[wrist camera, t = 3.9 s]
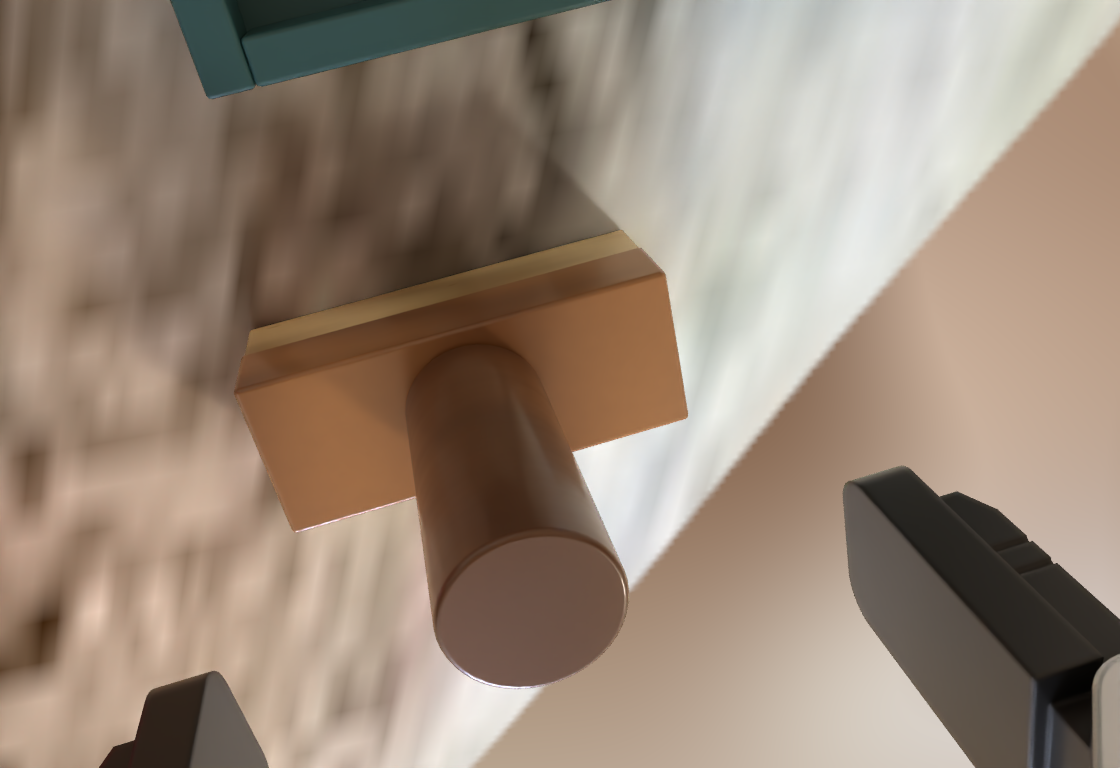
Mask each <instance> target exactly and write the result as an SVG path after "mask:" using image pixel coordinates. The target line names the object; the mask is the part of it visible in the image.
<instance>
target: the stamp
mask: <svg viewBox="0 0 1120 768" xmlns="http://www.w3.org/2000/svg"><path fill="white" fill-rule="evenodd" d="M234 395H235V397H236V400H237V402H238V404H239V407H240V409H241V411H242V414H243V416H244V418H245V421H246V423H247V425H248V428H249V430H250V432H251V435H252V437H253V440H254V442H255V444H256V447H257V449H258V451H259V454H260V456H261V458H262V461H263V463H264V465H265V468H266V470H267V472H268V475H269V477H270V479H271V482H272V484H273V486H274V489H275V491H276V494H277V496H278V498H279V501H280V503H281V505H282V508H283V510H284V512H285V515H286V517H287V519H288V522H289V524H290V526H291V529H292V530H293V531H294V532H301V531H304V530H308V529H311V528H315V527H318V526H321V525H325V524H328V523H332V522H335V521H338V520H342V519H345V518H349V517H352V516H356V515H359V514H362V513H366V512H369V511H373V510H376V509H379V508H383V507H386V506H390V505H393V504H396V503H400V502H403V501H407V500H410V499H414V498H416V499H417V507H418V514H419V522H420V529H421V537H422V544H423V552H424V559H425V567H426V574H427V582H428V589H429V597H430V605H431V612H432V620H433V627H434V632H435V636H436V640H437V642H438V644H439V646H440V648H441V650H442V652H443V653H444V655H445V656H446V658H447V659H448V660H449V661H450V662H451V663H452V664H453V665H454V666H455V667H456V668H457V669H458V670H460V671H461V672H462V673H464V674H465V675H467V676H469V677H470V678H472V679H474V680H476V681H479V682H481V683H484V684H487V685H491V686H495V687H501V688H511V689H523V688H534V687H540V686H544V685H548V684H552V683H555V682H558V681H560V680H563V679H566V678H568V677H570V676H572V675H574V674H576V673H578V672H580V671H581V670H583V669H584V668H586V667H587V666H589V665H590V664H591V663H593V662H594V661H595V660H597V659H598V658H599V657H600V656H601V655H602V654H603V653H604V652H605V651H606V650H607V649H608V647H609V646H610V645H611V644H612V642H613V641H614V639H615V638H616V636H617V635H618V633H619V631H620V629H621V627H622V625H623V622H624V619H625V617H626V613H627V607H628V602H629V588H628V581H627V577H626V574H625V571H624V569H623V566H622V564H621V562H620V560H619V557H618V555H617V553H616V551H615V548H614V546H613V544H612V542H611V539H610V537H609V535H608V532H607V530H606V528H605V526H604V523H603V521H602V519H601V517H600V514H599V512H598V510H597V508H596V505H595V503H594V501H593V498H592V496H591V494H590V492H589V489H588V487H587V485H586V483H585V480H584V478H583V476H582V474H581V471H580V469H579V467H578V464H577V462H576V460H575V458H574V455H573V453H572V452H574V451H577V450H581V449H584V448H588V447H591V446H594V445H598V444H601V443H605V442H608V441H612V440H615V439H618V438H622V437H625V436H629V435H632V434H635V433H639V432H642V431H646V430H649V429H652V428H656V427H659V426H663V425H666V424H670V423H673V422H676V421H680V420H683V419H686V418H687V417H688V410H687V404H686V397H685V391H684V385H683V379H682V373H681V367H680V360H679V354H678V348H677V342H676V336H675V330H674V323H673V317H672V311H671V305H670V299H669V293H668V287H667V280H666V274H665V273H664V271H663V270H662V269H661V268H660V267H659V266H658V265H657V264H656V263H655V262H654V261H653V260H652V259H651V258H650V257H649V255H648V254H647V253H646V252H645V251H644V250H643V249H642V248H638V247H637V245H636V244H635V243H634V242H633V241H632V240H631V239H630V238H629V237H628V236H627V235H626V234H625V233H624V232H623V230H618V231H614V232H611V233H607V234H603V235H600V236H596V237H592V238H589V239H585V240H581V241H578V242H574V243H570V244H567V245H563V246H559V247H556V248H552V249H548V250H545V251H541V252H537V253H533V254H530V255H526V256H522V257H519V258H515V259H511V260H508V261H504V262H500V263H497V264H493V265H489V266H486V267H482V268H478V269H475V270H471V271H467V272H464V273H460V274H456V275H453V276H449V277H445V278H441V279H438V280H434V281H430V282H427V283H423V284H419V285H416V286H412V287H408V288H405V289H401V290H397V291H394V292H390V293H386V294H383V295H379V296H375V297H372V298H368V299H364V300H360V301H357V302H353V303H349V304H346V305H342V306H338V307H335V308H331V309H327V310H324V311H320V312H316V313H313V314H309V315H305V316H302V317H298V318H294V319H291V320H287V321H283V322H279V323H276V324H272V325H268V326H265V327H261V328H257V329H254V330H251V331H250V333H249V338H248V342H247V347H246V351H245V356H244V357H242V359H241V364H240V368H239V372H238V377H237V381H236V385H235V390H234Z"/></svg>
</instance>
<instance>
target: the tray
mask: <svg viewBox="0 0 1120 768" xmlns="http://www.w3.org/2000/svg"><path fill="white" fill-rule="evenodd" d="M170 1H171V3H172V6H173V9H174V11H175V14H176V17H177V19H178V22H179V25H180V27H181V30H182V33H183V35H184V38H185V41H186V43H187V46H188V49H189V51H190V54H191V57H192V59H193V62H194V64H195V67H196V70H197V72H198V75H199V78H200V80H201V83H202V86H203V88H204V91H205V94H206V96H207V97H208V98H209V99H215V98H219V97H223V96H227V95H231V94H235V93H239V92H243V91H247V90H251V89H253V88H254V87H255V86H256V84H257V86H262V87H263V86H267V85H271V84H275V83H279V82H283V81H287V80H291V79H295V78H299V77H303V76H307V75H311V74H315V73H319V72H323V71H327V70H331V69H335V68H339V67H343V66H348V65H352V64H356V63H360V62H364V61H368V60H372V59H376V58H380V57H384V56H388V55H392V54H396V53H400V52H404V51H408V50H412V49H416V48H420V47H424V46H428V45H432V44H436V43H440V42H444V41H448V40H452V39H456V38H460V37H465V36H469V35H473V34H477V33H481V32H485V31H489V30H493V29H497V28H501V27H505V26H509V25H513V24H517V23H521V22H525V21H529V20H533V19H537V18H541V17H545V16H549V15H553V14H557V13H561V12H565V11H569V10H573V9H578V8H582V7H586V6H590V5H594V4H598V3H602V2H606V1H610V0H170Z"/></svg>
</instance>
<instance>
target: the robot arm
mask: <svg viewBox="0 0 1120 768" xmlns="http://www.w3.org/2000/svg"><path fill="white" fill-rule="evenodd" d="M843 504H844V517H845V530H846V541H847V554H848V566H849V567H848V568H849V577H850V582H851V586H852V590H853V593H854V596H855V598H856V601H857V604H858V606H859V608H860V610H861V612H862V614H863V616H864V617H865V619H866V621H867V622H868V624H869V625H870V627H871V628H872V629H873V631H874V632H875V633H876V635H877V636H878V637H879V639H880V640H881V641H882V643H883V644H884V645H885V647H886V648H887V649H888V651H889V652H890V654H891V655H892V656H893V658H894V659H895V660H896V662H897V663H898V664H899V666H900V667H901V668H902V670H903V671H904V672H905V674H906V675H907V676H908V678H909V679H910V680H911V682H912V683H913V684H914V686H915V687H916V688H917V690H918V691H919V692H920V694H921V695H922V697H923V698H924V699H925V701H926V702H927V703H928V704H929V706H930V707H931V709H932V710H933V711H934V713H935V714H936V715H937V717H938V718H939V719H940V721H941V722H942V723H943V725H944V726H945V727H946V729H947V730H948V731H949V733H950V734H951V736H952V737H953V738H954V740H955V741H956V742H957V744H958V745H959V746H960V748H961V749H962V750H963V752H964V753H965V754H966V756H967V757H968V758H969V760H970V761H971V762H972V764H973V765H974V766H975V768H1120V619H1119V618H1118V617H1116V616H1115V615H1114V614H1113V613H1112V612H1111V611H1110V610H1109V609H1108V608H1106V607H1105V606H1104V605H1103V604H1102V603H1101V602H1100V601H1099V600H1097V599H1096V598H1095V597H1094V596H1093V595H1092V594H1091V593H1090V592H1089V591H1087V590H1086V589H1085V588H1084V587H1083V586H1082V585H1081V584H1080V583H1079V582H1078V581H1076V580H1075V579H1074V578H1073V577H1072V576H1071V575H1070V574H1069V573H1068V572H1066V571H1065V570H1064V569H1063V568H1062V567H1061V566H1060V565H1058V563H1056V564H1053V562H1052V561H1051V557H1050V556H1049V555H1048V554H1046V553H1045V552H1044V551H1043V550H1042V549H1041V548H1039V546H1038V545H1036V544H1035V543H1034V542H1033V541H1031V542H1029V541H1028V539H1027V536H1026V535H1025V534H1024V533H1023V532H1022V531H1021V530H1020V529H1019V528H1018V527H1016V526H1015V525H1014V524H1013V523H1012V522H1011V521H1010V520H1009V519H1008V518H1006V517H1005V516H1004V515H1003V514H1002V513H1001V512H1000V511H999V510H998V509H995V508H993V507H991V506H989V505H986V504H984V503H982V502H980V501H977V500H975V499H973V498H970V497H968V496H966V495H964V494H962V493H959V492H953V493H950V494H947V495H943V496H940V497H939V496H938V495H937V494H936V493H934V491H933V490H932V489H931V488H929V487H928V486H927V485H926V484H925V483H924V482H923V481H922V480H921V479H920V478H919V477H918V476H917V475H916V474H915V473H914V472H913V471H912V470H911V469H909V468H908V467H906V466H898V467H895V468H891V469H888V470H885V471H881V472H878V473H875V474H871V475H868V476H865V477H862V478H859V479H855V480H852V481H848V482H847V483H846V484H845V485H844V489H843ZM99 768H269V767H268V763H267V761H266V758H265V755H264V753H263V751H262V749H261V747H260V745H259V744H258V742H257V740H256V738H255V736H254V734H253V732H252V730H251V728H250V726H249V724H248V723H247V721H246V719H245V717H244V715H243V713H242V711H241V709H240V707H239V705H238V703H237V701H236V700H235V698H234V696H233V694H232V692H231V690H230V688H229V686H228V684H227V682H226V681H225V679H224V678H223V676H222V675H221V674H220V673H219V672H217V671H211V672H208V673H205V674H201V675H198V676H195V677H191V678H188V679H185V680H181V681H178V682H175V683H171V684H168V685H165V686H161V687H158V688H155V689H153V690H151V691H150V692H149V694H148V695H147V697H146V700H145V704H144V707H143V711H142V715H141V719H140V722H139V726H138V730H137V734H136V737H135V740H134V741H131V742H128V743H124V744H121V745H118V746H115V747H113V748H112V750H111V751H110V753H109V754H108V756H107V757H106V758H105V760H104V761H103V763H102V764H101V766H100V767H99Z"/></svg>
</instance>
